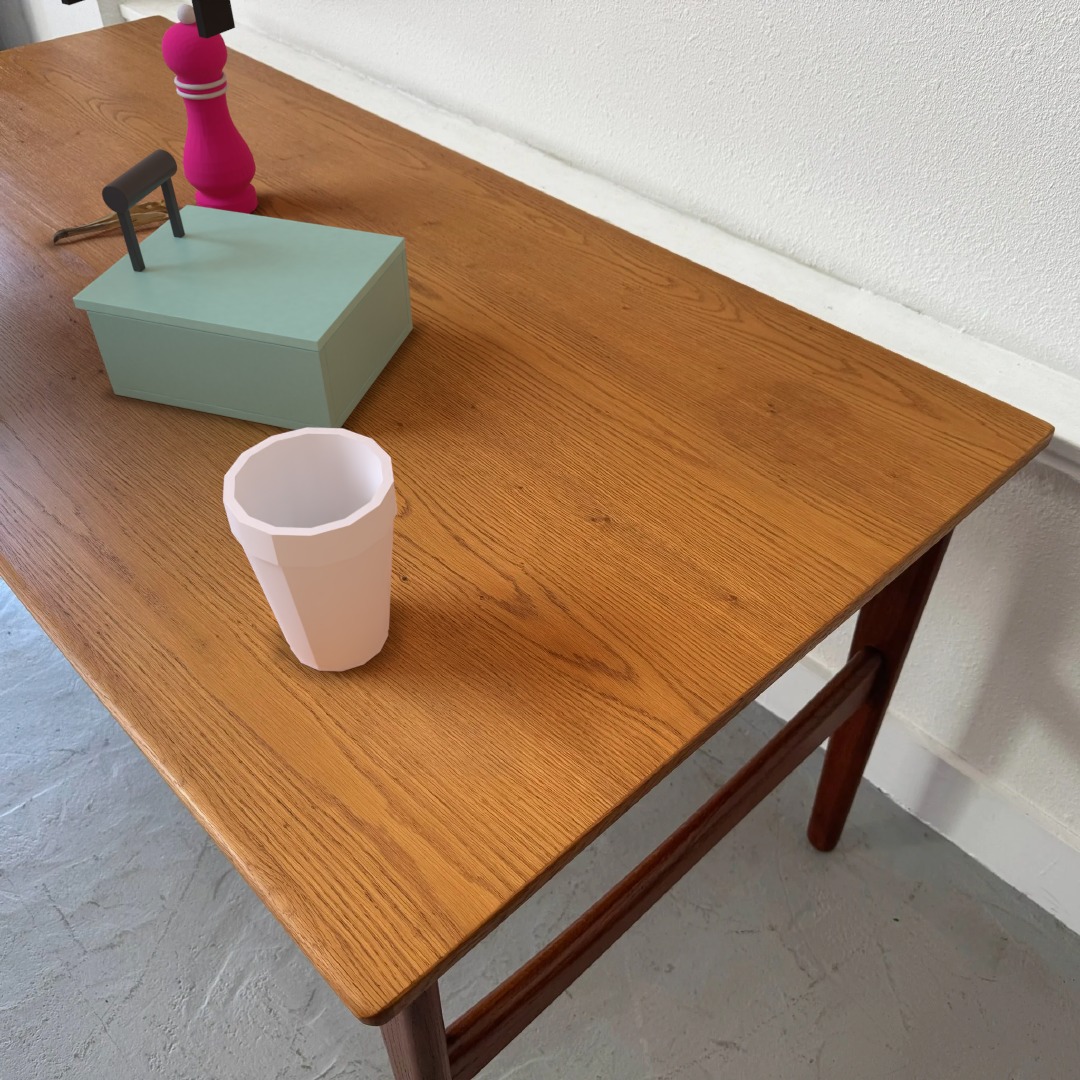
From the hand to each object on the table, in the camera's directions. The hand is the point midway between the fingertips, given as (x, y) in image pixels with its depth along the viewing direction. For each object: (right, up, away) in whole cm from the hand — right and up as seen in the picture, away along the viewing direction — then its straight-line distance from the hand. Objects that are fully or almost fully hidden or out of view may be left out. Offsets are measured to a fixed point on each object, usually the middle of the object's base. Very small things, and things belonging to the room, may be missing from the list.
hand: (146, 16), depth 73 cm
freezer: (+5, -22, +16) cm, 27 cm away
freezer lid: (+4, -16, +10) cm, 19 cm away
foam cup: (+15, -43, -7) cm, 46 cm away
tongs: (-15, -5, +33) cm, 37 cm away
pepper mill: (-5, -2, +37) cm, 37 cm away
